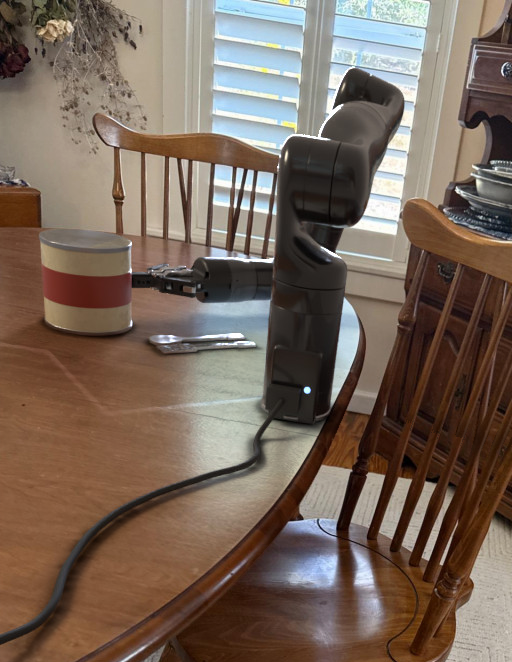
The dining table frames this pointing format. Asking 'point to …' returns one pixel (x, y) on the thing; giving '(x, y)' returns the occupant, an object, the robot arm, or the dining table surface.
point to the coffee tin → (86, 281)
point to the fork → (203, 347)
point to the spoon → (191, 338)
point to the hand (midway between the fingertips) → (126, 280)
